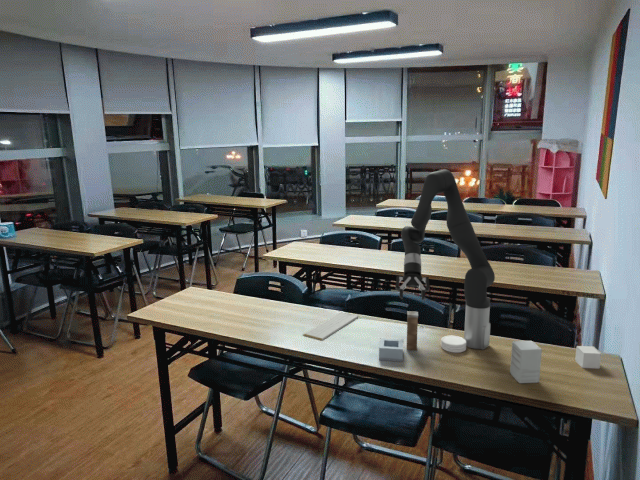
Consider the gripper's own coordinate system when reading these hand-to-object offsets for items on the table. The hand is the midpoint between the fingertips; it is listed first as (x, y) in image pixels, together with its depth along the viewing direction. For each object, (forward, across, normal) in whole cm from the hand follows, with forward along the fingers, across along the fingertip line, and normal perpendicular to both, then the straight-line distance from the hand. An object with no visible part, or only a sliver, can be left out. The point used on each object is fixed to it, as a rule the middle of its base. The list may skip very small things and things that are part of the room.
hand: (412, 299), depth 195 cm
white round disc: (+18, +17, +7) cm, 26 cm away
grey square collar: (+26, -8, -1) cm, 27 cm away
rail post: (+20, 0, +4) cm, 20 cm away
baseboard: (+7, -36, +18) cm, 41 cm away
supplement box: (+33, +39, -9) cm, 52 cm away
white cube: (+23, +64, +1) cm, 68 cm away
